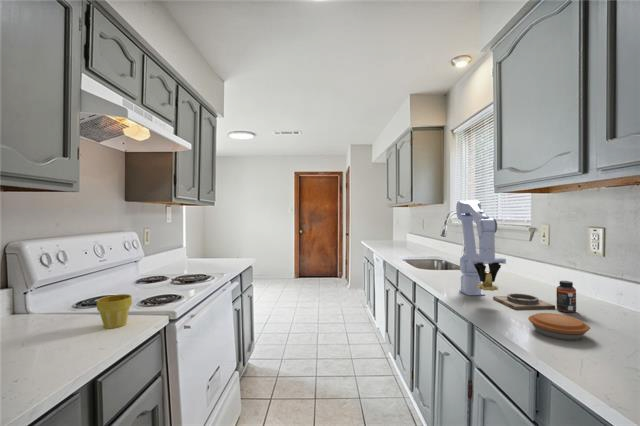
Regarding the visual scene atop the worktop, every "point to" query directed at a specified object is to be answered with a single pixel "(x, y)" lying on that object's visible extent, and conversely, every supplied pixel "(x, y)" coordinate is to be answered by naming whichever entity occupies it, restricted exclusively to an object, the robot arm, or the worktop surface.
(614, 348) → the worktop surface
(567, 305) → the supplement bottle
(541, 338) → the worktop surface
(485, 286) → the planet gear
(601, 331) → the worktop surface
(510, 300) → the collar board
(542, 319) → the pie
